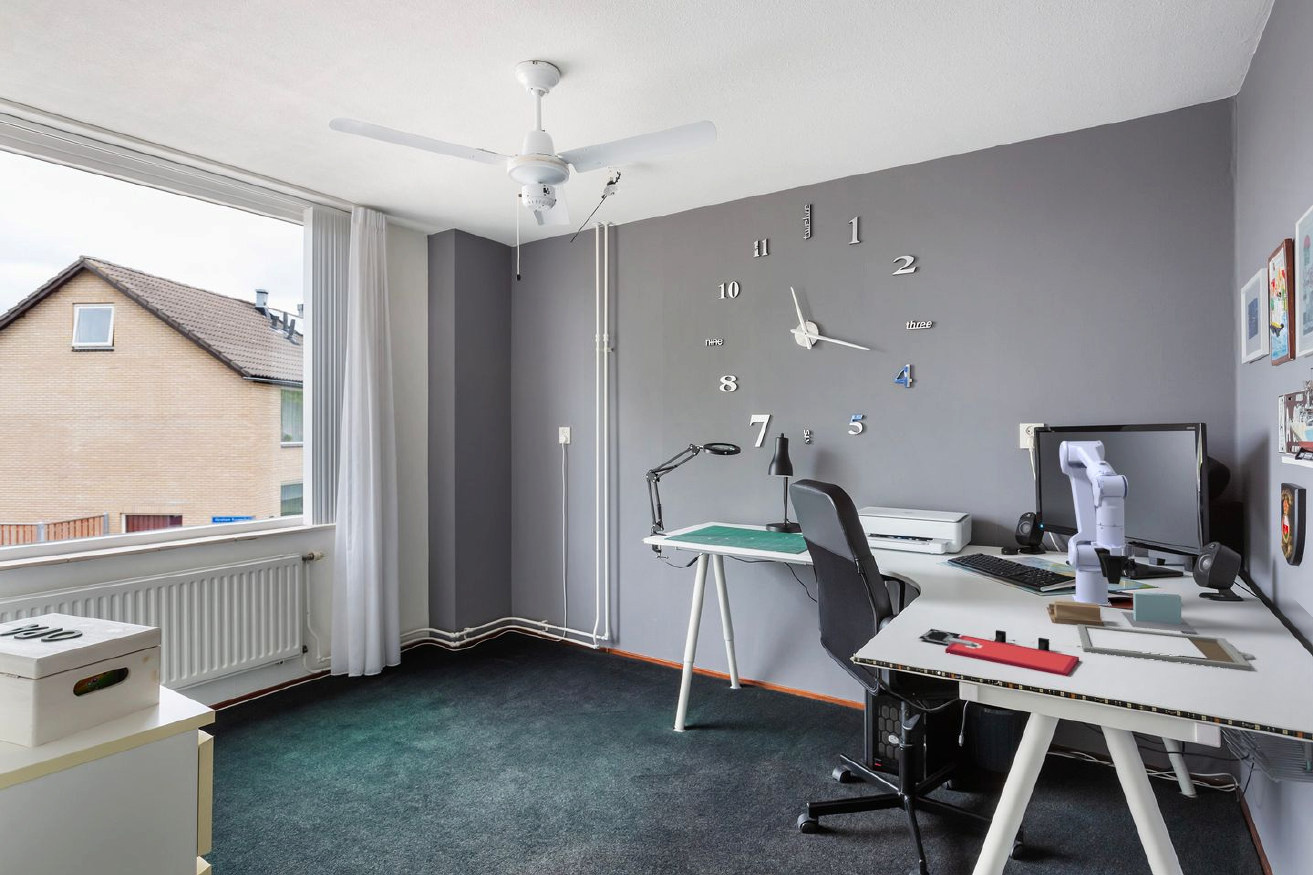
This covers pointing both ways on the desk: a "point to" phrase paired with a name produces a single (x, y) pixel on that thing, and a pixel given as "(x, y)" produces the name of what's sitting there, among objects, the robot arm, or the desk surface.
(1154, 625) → the mat
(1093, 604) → the offcut
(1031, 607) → the desk surface
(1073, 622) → the rack
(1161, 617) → the pale teal block
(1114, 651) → the grey flat rectangular frame
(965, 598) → the desk surface
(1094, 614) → the offcut
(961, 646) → the red board with handle
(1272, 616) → the desk surface
